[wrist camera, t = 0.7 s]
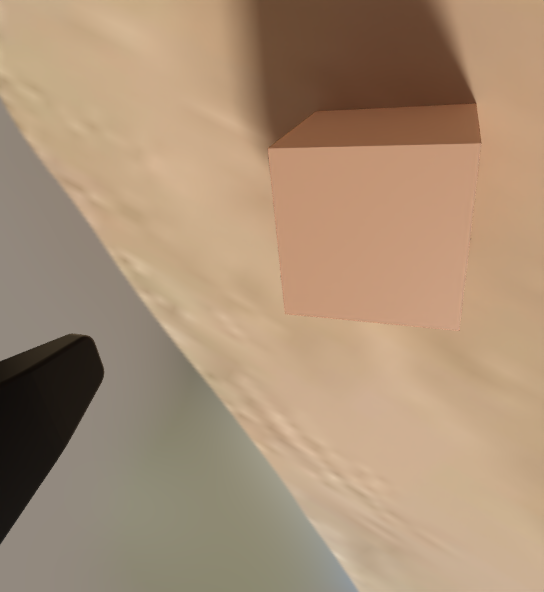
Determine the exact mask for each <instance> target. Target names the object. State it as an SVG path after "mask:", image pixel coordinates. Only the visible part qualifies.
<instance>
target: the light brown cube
mask: <svg viewBox="0 0 544 592" xmlns="http://www.w3.org/2000/svg"><path fill="white" fill-rule="evenodd" d="M480 152H481V136H480V128H479V121H478V113H477V105H476V103H473V104H453V105H433V106H413V107H393V108H373V109H353V110H333V111H316V112H314V113H313V114H312V115H310V116H309V117H308V118H307V119H305V120H304V121H303V122H301V123H300V124H299V125H298V126H296V127H295V128H294V129H292V130H291V131H290V132H288V133H287V134H286V135H285V136H283V137H282V138H281V139H279V140H278V141H277V142H276V143H274V144H273V145H272V146H270V147H269V148H268V156H269V166H270V175H271V185H272V194H273V204H274V214H275V223H276V233H277V242H278V252H279V261H280V271H281V280H282V290H283V299H284V309H285V314H291V315H301V316H311V317H322V318H332V319H342V320H353V321H363V322H373V323H383V324H394V325H404V326H414V327H425V328H435V329H445V330H455V331H460V322H461V314H462V305H463V297H464V288H465V280H466V271H467V263H468V254H469V246H470V237H471V228H472V220H473V211H474V203H475V194H476V186H477V177H478V169H479V160H480Z"/></svg>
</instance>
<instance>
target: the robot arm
mask: <svg viewBox="0 0 544 592" xmlns="http://www.w3.org/2000/svg"><path fill="white" fill-rule="evenodd" d="M103 377H104V367H103V364H102V362H101V359H100V356H99V353H98V350H97V348H96V345H95V342H94V340H93V339H92V338H91V337H90V336H87V335H81V334H68V335H65V336H63V337H60V338H58V339H55V340H53V341H50V342H48V343H45V344H43V345H40V346H38V347H35V348H33V349H30V350H28V351H25V352H22V353H20V354H17V355H15V356H13V357H10V358H8V359H5V360H2V361H0V544H1V543H2V541H3V540H4V538H5V537H6V535H7V534H8V532H9V531H10V529H11V528H12V526H13V525H14V523H15V522H16V520H17V519H18V518H19V516H20V514H21V513H22V511H23V510H24V509H25V507H26V506H27V504H28V503H29V501H30V500H31V498H32V497H33V495H34V494H35V492H36V491H37V489H38V488H39V486H40V485H41V483H42V482H43V480H44V479H45V477H46V476H47V475H48V473H49V472H50V470H51V469H52V467H53V466H54V464H55V463H56V461H57V460H58V458H59V457H60V455H61V454H62V452H63V450H64V449H65V447H66V446H67V444H68V442H69V440H70V439H71V437H72V435H73V433H74V432H75V430H76V428H77V426H78V424H79V422H80V421H81V419H82V417H83V415H84V413H85V412H86V410H87V408H88V406H89V404H90V403H91V401H92V399H93V397H94V395H95V393H96V392H97V390H98V388H99V386H100V384H101V383H102V380H103Z"/></svg>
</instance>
